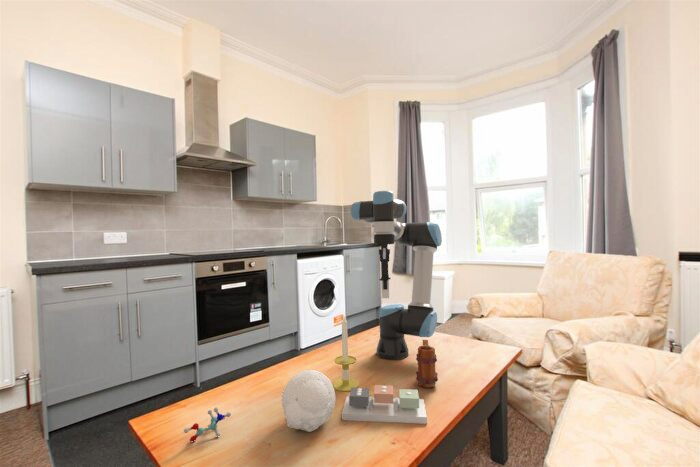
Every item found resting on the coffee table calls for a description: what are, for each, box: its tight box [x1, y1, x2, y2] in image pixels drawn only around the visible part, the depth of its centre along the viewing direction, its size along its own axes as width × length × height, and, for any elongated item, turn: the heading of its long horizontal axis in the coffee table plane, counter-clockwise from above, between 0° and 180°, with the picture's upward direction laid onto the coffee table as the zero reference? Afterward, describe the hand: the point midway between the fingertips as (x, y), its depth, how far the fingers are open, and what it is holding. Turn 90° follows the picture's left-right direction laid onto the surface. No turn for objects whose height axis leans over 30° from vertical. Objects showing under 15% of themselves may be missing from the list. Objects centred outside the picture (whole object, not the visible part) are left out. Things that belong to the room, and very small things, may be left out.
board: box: [341, 395, 428, 425], centre depth 107 cm, size 11×26×3 cm, turn 83°
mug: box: [415, 339, 439, 389], centre depth 128 cm, size 15×8×15 cm, turn 168°
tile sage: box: [398, 388, 420, 408], centre depth 106 cm, size 6×6×3 cm
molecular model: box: [183, 407, 232, 442], centre depth 96 cm, size 12×10×10 cm
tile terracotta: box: [373, 384, 394, 404], centre depth 107 cm, size 6×6×3 cm
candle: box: [332, 316, 360, 392], centre depth 127 cm, size 10×10×27 cm
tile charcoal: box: [348, 387, 370, 406], centre depth 108 cm, size 6×6×3 cm
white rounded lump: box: [281, 369, 336, 433], centre depth 101 cm, size 20×18×16 cm
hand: (385, 297), depth 121 cm, fingers closed
